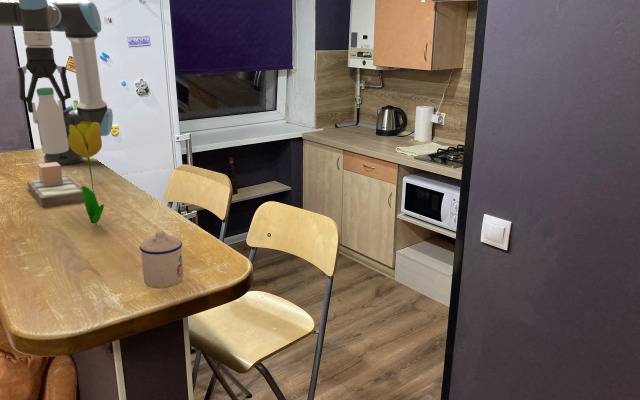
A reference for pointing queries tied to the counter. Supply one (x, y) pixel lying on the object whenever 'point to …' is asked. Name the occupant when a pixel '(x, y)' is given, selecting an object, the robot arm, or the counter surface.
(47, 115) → the milk bottle
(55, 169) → the terracotta block
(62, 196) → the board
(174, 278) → the teacup with lid
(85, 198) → the flower
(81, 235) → the counter surface
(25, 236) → the counter surface
